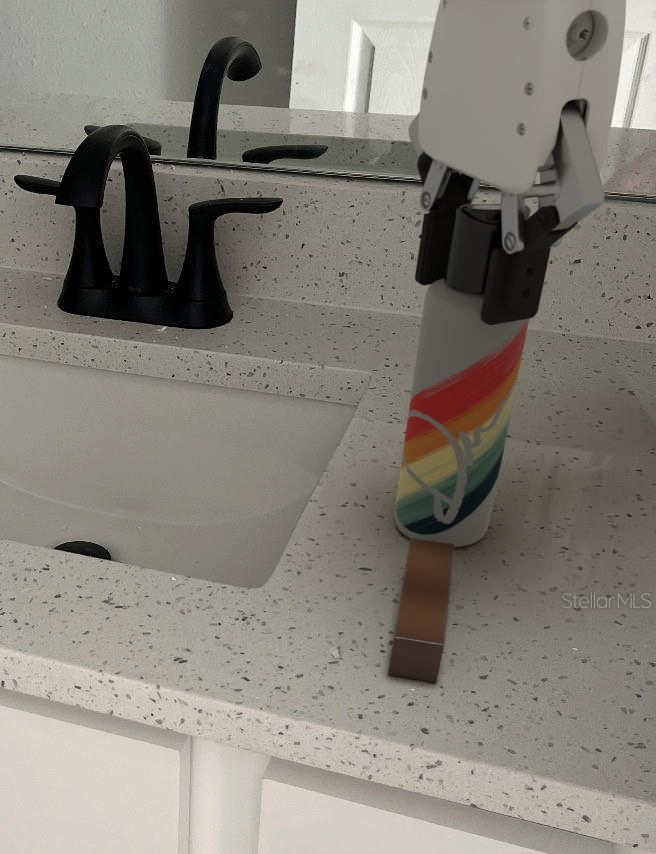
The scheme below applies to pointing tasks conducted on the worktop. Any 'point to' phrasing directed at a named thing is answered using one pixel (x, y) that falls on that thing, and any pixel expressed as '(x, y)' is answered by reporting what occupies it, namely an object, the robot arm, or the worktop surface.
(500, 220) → the lotion bottle
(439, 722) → the worktop surface
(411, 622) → the walnut stick
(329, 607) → the worktop surface
